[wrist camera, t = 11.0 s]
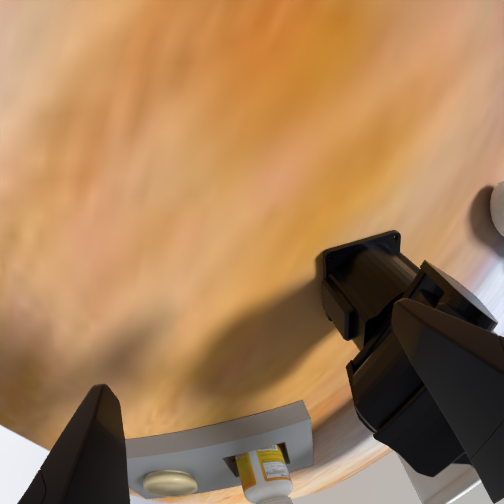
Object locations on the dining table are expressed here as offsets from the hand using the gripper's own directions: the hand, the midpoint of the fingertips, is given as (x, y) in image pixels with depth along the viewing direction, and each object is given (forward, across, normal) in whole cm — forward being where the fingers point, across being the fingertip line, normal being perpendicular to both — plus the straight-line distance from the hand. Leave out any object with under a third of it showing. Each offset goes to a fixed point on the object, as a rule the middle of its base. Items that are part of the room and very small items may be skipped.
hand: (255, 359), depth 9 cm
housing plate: (+12, +8, +29) cm, 32 cm away
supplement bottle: (+12, +2, +29) cm, 32 cm away
